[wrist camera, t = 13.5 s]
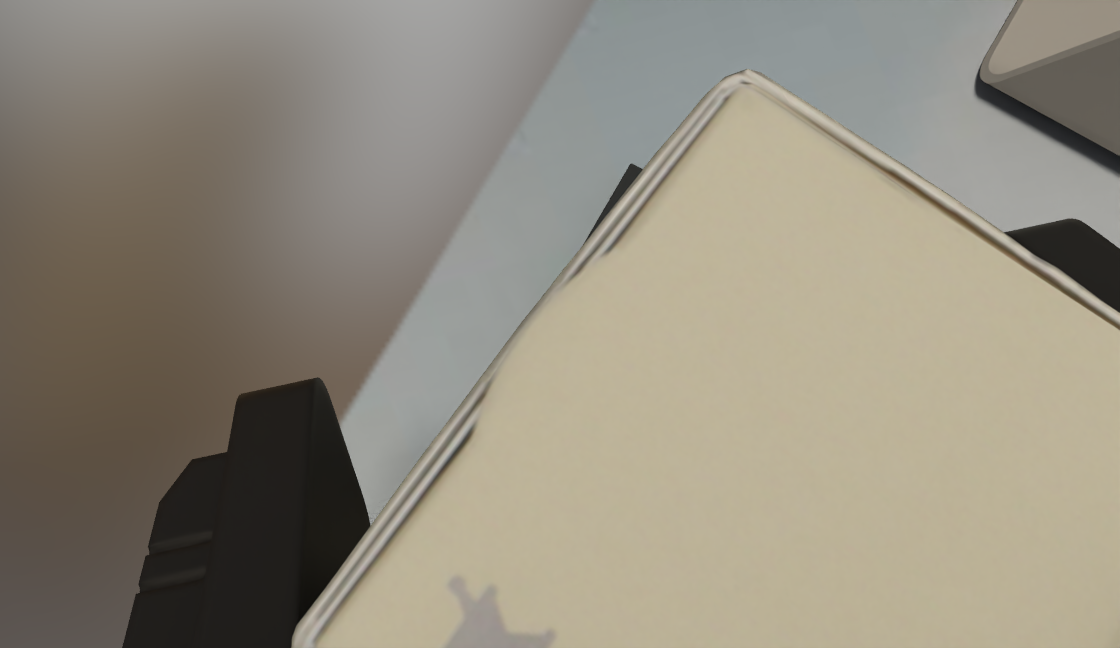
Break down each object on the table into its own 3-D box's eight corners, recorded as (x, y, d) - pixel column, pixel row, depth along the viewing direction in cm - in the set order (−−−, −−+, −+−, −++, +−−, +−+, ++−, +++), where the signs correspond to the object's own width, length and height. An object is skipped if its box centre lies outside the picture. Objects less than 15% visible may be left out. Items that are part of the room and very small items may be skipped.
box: (648, 763, 18) (862, 1201, 6) (447, 607, 19) (229, 686, 6) (814, 513, 19) (1314, 408, 7) (619, 373, 20) (735, 28, 7)
